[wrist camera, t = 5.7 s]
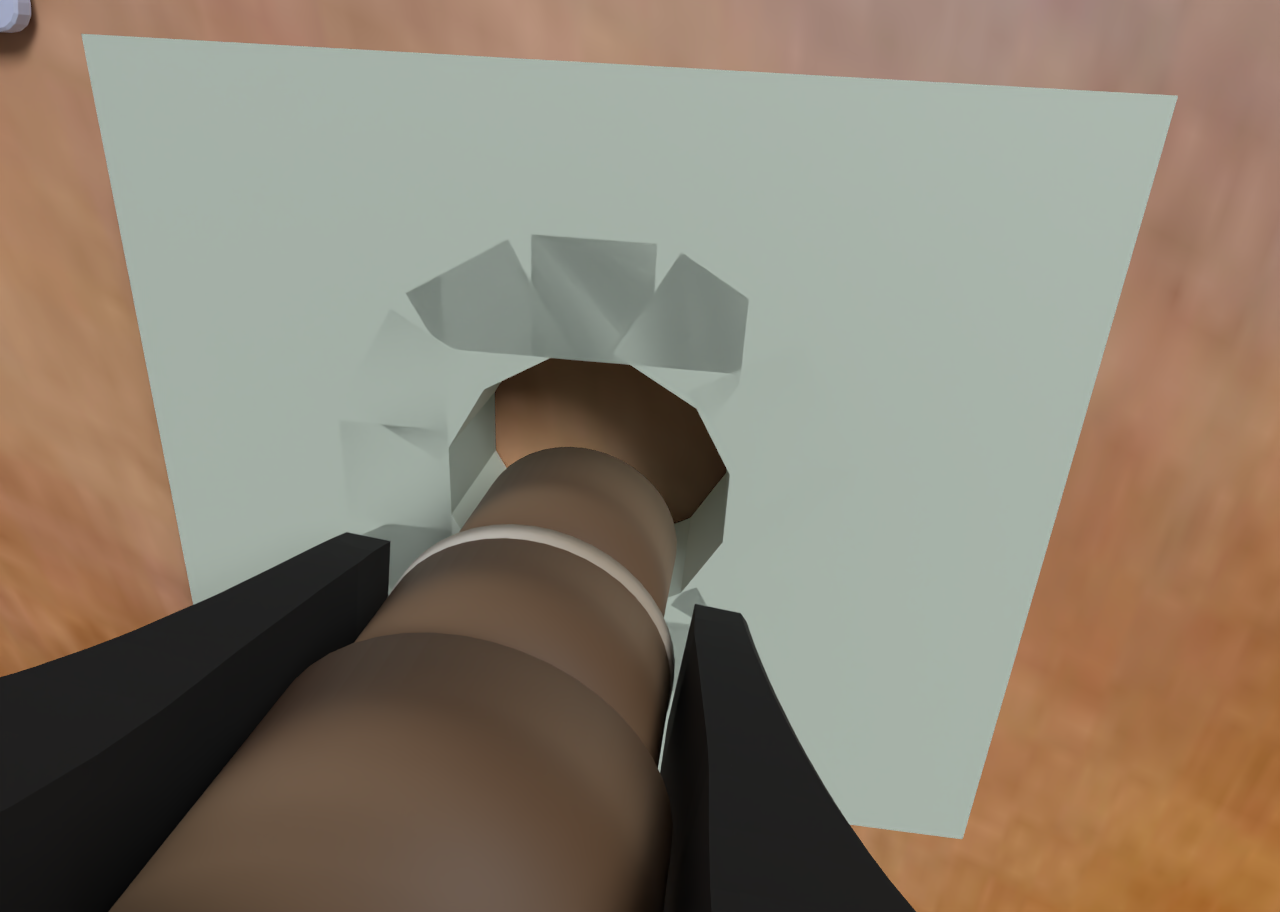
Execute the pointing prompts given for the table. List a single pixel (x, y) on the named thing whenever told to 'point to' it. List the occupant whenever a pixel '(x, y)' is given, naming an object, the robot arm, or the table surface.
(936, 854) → the table surface
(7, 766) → the robot arm
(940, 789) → the board
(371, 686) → the peg
